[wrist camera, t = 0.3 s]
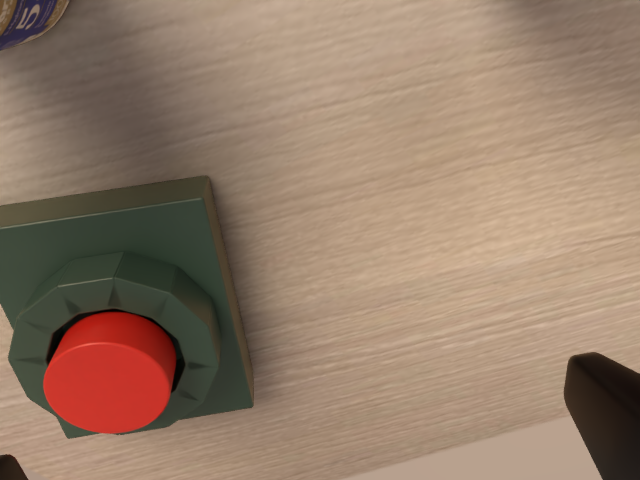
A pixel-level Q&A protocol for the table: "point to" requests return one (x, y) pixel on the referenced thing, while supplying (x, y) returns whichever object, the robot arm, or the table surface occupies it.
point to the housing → (127, 287)
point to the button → (111, 373)
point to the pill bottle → (27, 19)
